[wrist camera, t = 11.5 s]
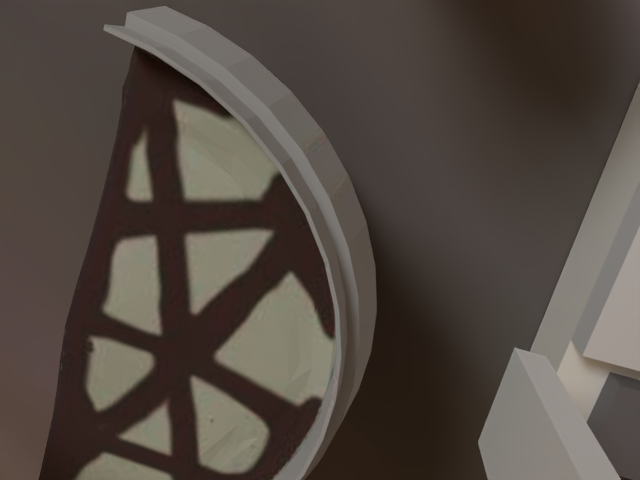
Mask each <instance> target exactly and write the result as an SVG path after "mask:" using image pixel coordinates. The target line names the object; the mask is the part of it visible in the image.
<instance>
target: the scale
mask: <svg viewBox="0 0 640 480" xmlns="http://www.w3.org/2000/svg"><path fill="white" fill-rule="evenodd" d="M530 352H532V353H536V354H540V355H543V356H546V357H547V359H548V360H549V362H550V364H551V365H552V367H553V369H554V370H555V372H556V373H557V375H558V377H559V378H560V380H561V382H562V383H563V385H564V387H565V388H566V390H567V392H568V393H569V395H570V397H571V398H572V400H573V401H574V403H575V405H576V406H577V408H578V410H579V411H580V413H581V415H582V416H583V418H584V420H585V421H586V423H587V424H588V426H589V428H590V429H591V431H592V433H593V434H594V436H595V438H596V439H597V441H598V443H599V444H600V446H601V447H602V449H603V451H604V452H605V454H606V456H607V457H608V459H609V461H610V462H611V464H612V466H613V467H614V469H615V471H616V472H617V474H618V475H619V476H621V477H624V478H628V479H632V480H640V82H639V84H638V86H637V89H636V91H635V94H634V96H633V99H632V101H631V104H630V106H629V109H628V111H627V113H626V116H625V118H624V121H623V123H622V126H621V128H620V131H619V133H618V136H617V138H616V141H615V143H614V145H613V148H612V150H611V153H610V155H609V158H608V160H607V163H606V165H605V168H604V170H603V172H602V175H601V177H600V180H599V182H598V185H597V187H596V190H595V192H594V195H593V197H592V200H591V202H590V204H589V207H588V209H587V212H586V214H585V217H584V219H583V222H582V224H581V227H580V229H579V231H578V234H577V236H576V239H575V241H574V244H573V246H572V249H571V251H570V254H569V256H568V259H567V261H566V263H565V266H564V268H563V271H562V273H561V276H560V278H559V281H558V283H557V286H556V288H555V290H554V293H553V295H552V298H551V300H550V303H549V305H548V308H547V310H546V313H545V315H544V318H543V320H542V322H541V325H540V327H539V330H538V332H537V335H536V337H535V340H534V342H533V345H532V347H531V349H530Z"/></svg>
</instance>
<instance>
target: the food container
mask: <svg viewBox="0 0 640 480" xmlns="http://www.w3.org/2000/svg"><path fill="white" fill-rule="evenodd" d="M104 30H105V31H107V32H109V33H111V34H113V35H115V36H117V37H119V38H121V39H124V40H126V41H128V42H130V43H132V44H134V45H136V46H135V48H134V51H133V54H132V58H131V62H130V68H129V72H128V74H127V77H126V80H125V83H124V85H123V92H122V108H121V114H120V119H119V125H118V130H117V136H116V140H115V144H114V148H113V152H112V157H111V161H110V165H109V169H108V173H107V178H106V182H105V186H104V190H103V194H102V198H101V202H100V205H99V209H98V213H97V217H96V220H95V224H94V228H93V232H92V235H91V239H90V242H89V246H88V249H87V252H86V255H85V259H84V262H83V265H82V269H81V272H80V275H79V278H78V282H77V285H76V289H75V293H74V296H73V300H72V303H71V307H70V311H69V314H68V317H67V321H66V325H65V332H64V338H63V345H62V352H61V358H60V367H59V376H58V385H57V392H56V398H55V405H54V411H53V418H52V422H51V427H50V431H49V436H48V440H47V445H46V449H45V454H44V459H43V463H42V468H41V472H40V477H39V480H305V479H306V477H307V476H308V475H309V474H310V472H311V471H312V470H313V469H314V468H315V466H316V465H317V464H318V463H319V462H320V460H321V459H322V457H323V455H324V454H325V452H326V450H327V448H328V446H329V445H330V443H331V441H332V439H333V437H334V436H335V434H336V432H337V430H338V428H339V426H340V425H341V423H342V421H343V419H344V417H345V415H346V413H347V411H348V409H349V407H350V405H351V403H352V401H353V400H354V398H355V396H356V394H357V392H358V390H359V387H360V384H361V381H362V378H363V375H364V372H365V369H366V366H367V363H368V360H369V357H370V354H371V349H372V342H373V335H374V328H375V321H376V314H377V297H376V267H375V262H374V257H373V252H372V247H371V242H370V237H369V232H368V227H367V222H366V219H365V217H364V214H363V212H362V209H361V206H360V204H359V201H358V198H357V196H356V193H355V190H354V188H353V185H352V183H351V180H350V177H349V175H348V173H347V172H346V170H345V168H344V166H343V165H342V163H341V161H340V159H339V158H338V156H337V154H336V152H335V151H334V149H333V147H332V145H331V144H330V142H329V140H328V138H327V137H326V135H325V133H324V132H323V131H322V129H321V128H320V127H319V126H318V124H317V123H316V122H315V121H314V119H313V118H312V117H311V116H310V114H309V113H308V112H307V110H306V109H305V108H304V107H303V105H302V104H301V103H300V102H299V100H298V99H297V98H296V97H295V95H294V94H293V93H292V92H291V91H290V90H289V89H288V88H287V87H286V86H285V85H284V84H283V83H281V82H280V81H279V80H278V79H277V78H276V77H275V76H274V75H273V74H272V73H271V72H270V71H268V70H267V69H266V68H265V67H264V66H263V65H262V64H261V63H260V62H259V61H258V60H256V59H255V58H254V57H253V56H252V55H250V54H249V53H247V52H246V51H244V50H243V49H242V48H240V47H239V46H237V45H236V44H234V43H233V42H231V41H230V40H228V39H227V38H225V37H224V36H222V35H221V34H219V33H218V32H216V31H215V30H213V29H212V28H210V27H209V26H207V25H205V24H202V23H200V22H198V21H196V20H194V19H192V18H190V17H187V16H185V15H183V14H181V13H179V12H177V11H174V10H172V9H170V8H168V7H166V6H162V7H156V8H150V9H144V10H138V11H132V12H127V17H126V23H125V26H115V25H104Z"/></svg>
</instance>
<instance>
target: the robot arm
mask: <svg viewBox="0 0 640 480" xmlns="http://www.w3.org/2000/svg"><path fill="white" fill-rule="evenodd" d="M478 445H479V448H480V452H481V456H482V460H483V463H484V467H485V471H486V474H487V478H488V480H621V479H620V477H619V475H618V474H617V472H616V471H615V469H614V467H613V466H612V464H611V462H610V461H609V459H608V457H607V456H606V454H605V452H604V451H603V449H602V447H601V446H600V444H599V443H598V441H597V439H596V438H595V436H594V434H593V433H592V431H591V429H590V428H589V426H588V424H587V423H586V421H585V420H584V418H583V416H582V415H581V413H580V411H579V410H578V408H577V406H576V405H575V403H574V401H573V400H572V398H571V397H570V395H569V393H568V392H567V390H566V388H565V387H564V385H563V383H562V382H561V380H560V378H559V377H558V375H557V373H556V372H555V370H554V369H553V367H552V365H551V364H550V362H549V360H548V359H547V357H546V356H543V355H540V354H536V353H532V352H528V351H525V350H521V349H517V348H514V350H513V353H512V356H511V358H510V361H509V363H508V366H507V368H506V371H505V374H504V376H503V379H502V381H501V384H500V386H499V389H498V392H497V394H496V397H495V399H494V402H493V404H492V407H491V410H490V412H489V415H488V417H487V420H486V422H485V425H484V428H483V430H482V433H481V435H480V438H479V440H478Z"/></svg>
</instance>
